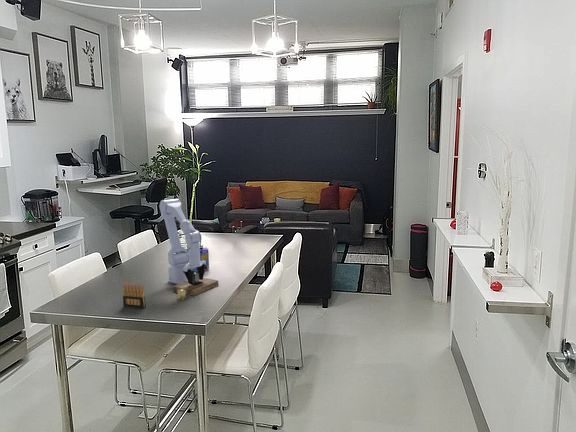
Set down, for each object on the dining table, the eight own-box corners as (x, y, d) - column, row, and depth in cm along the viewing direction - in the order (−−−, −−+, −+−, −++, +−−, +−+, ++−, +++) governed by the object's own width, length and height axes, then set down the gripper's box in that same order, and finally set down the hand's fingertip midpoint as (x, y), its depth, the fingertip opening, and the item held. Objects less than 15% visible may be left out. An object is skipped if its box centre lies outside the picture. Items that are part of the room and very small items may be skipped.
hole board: (173, 291, 232) (172, 286, 232) (198, 281, 247) (197, 276, 247) (194, 295, 225) (193, 290, 224) (218, 285, 240) (218, 280, 239)
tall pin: (191, 288, 235) (190, 273, 234) (195, 286, 238) (194, 271, 237) (196, 289, 234) (195, 274, 232) (201, 287, 237) (200, 272, 235)
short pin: (176, 299, 220) (176, 290, 219) (182, 297, 223) (181, 288, 222) (182, 300, 218) (181, 291, 218) (187, 298, 221) (187, 289, 221)
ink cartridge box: (192, 271, 264) (191, 247, 262) (191, 269, 269) (189, 245, 267) (209, 269, 268) (208, 245, 265) (208, 267, 273) (206, 243, 270)
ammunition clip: (146, 306, 212) (143, 281, 209) (143, 308, 210) (141, 282, 208) (125, 305, 214) (123, 280, 212) (123, 306, 213) (120, 281, 211)
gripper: (189, 259, 225) (191, 286, 227) (210, 253, 237) (211, 278, 239) (179, 258, 229) (181, 284, 231) (199, 251, 241) (201, 276, 243)
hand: (195, 281), depth 235 cm, fingers open, 7 cm apart
